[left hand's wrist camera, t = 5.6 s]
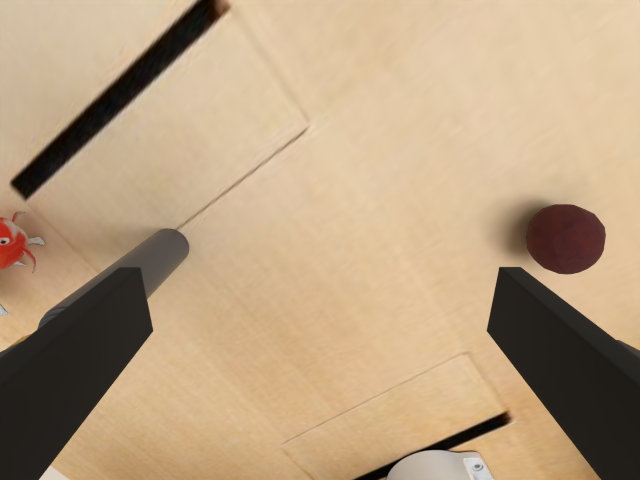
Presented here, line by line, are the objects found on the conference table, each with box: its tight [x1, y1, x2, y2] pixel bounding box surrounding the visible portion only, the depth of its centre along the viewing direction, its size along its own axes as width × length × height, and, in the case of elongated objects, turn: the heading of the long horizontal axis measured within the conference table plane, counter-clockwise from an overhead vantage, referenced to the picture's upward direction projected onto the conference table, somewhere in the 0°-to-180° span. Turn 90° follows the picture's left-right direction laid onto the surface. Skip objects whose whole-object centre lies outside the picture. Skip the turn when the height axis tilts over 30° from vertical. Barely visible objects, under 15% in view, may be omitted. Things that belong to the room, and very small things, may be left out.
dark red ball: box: [526, 204, 606, 274], centre depth 38 cm, size 7×8×7 cm
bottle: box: [37, 229, 189, 330], centre depth 32 cm, size 4×4×22 cm
